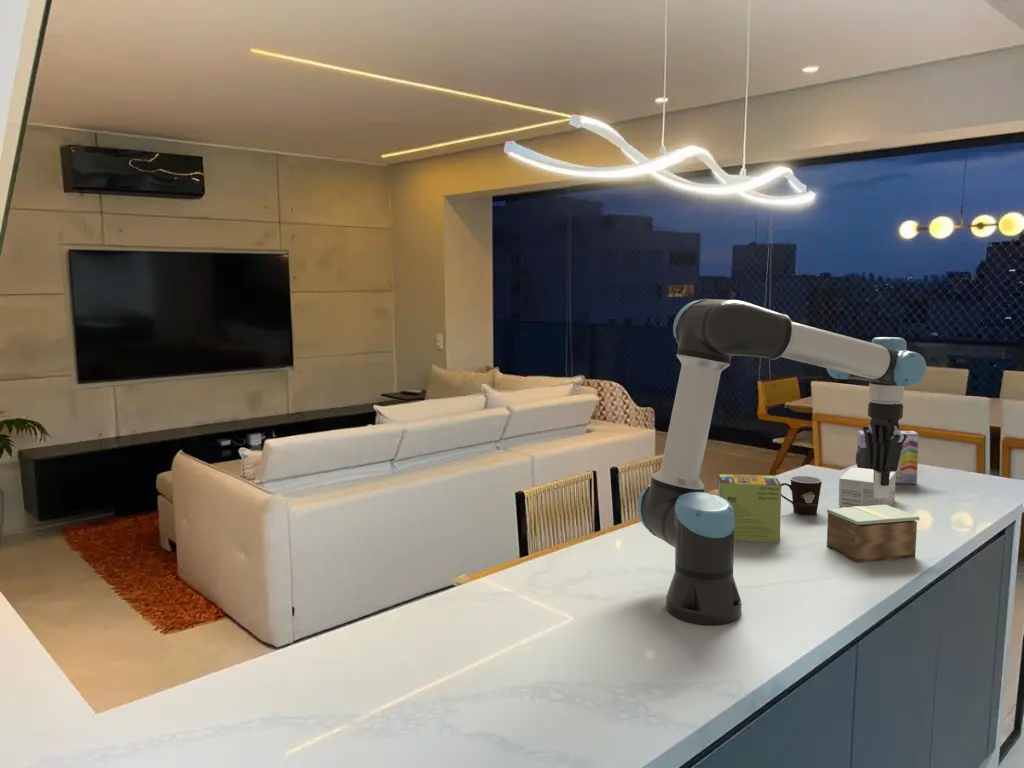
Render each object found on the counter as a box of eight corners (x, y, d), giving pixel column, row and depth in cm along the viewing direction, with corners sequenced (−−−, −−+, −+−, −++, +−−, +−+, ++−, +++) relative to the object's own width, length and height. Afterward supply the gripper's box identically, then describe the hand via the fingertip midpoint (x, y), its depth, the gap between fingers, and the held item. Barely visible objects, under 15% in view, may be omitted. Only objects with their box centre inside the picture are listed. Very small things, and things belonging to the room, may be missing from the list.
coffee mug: (823, 510, 222) (824, 478, 220) (817, 518, 214) (818, 484, 213) (782, 505, 228) (783, 473, 227) (776, 512, 221) (776, 479, 219)
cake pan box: (856, 483, 252) (858, 432, 250) (852, 480, 257) (854, 429, 255) (917, 485, 249) (920, 433, 246) (912, 481, 254) (914, 430, 251)
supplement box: (849, 495, 239) (850, 466, 238) (895, 501, 231) (896, 471, 230) (837, 507, 225) (838, 477, 224) (885, 514, 218) (886, 483, 216)
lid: (857, 524, 178) (857, 521, 178) (826, 511, 190) (826, 508, 190) (919, 520, 181) (919, 516, 181) (885, 507, 193) (885, 504, 193)
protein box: (780, 542, 195) (782, 484, 193) (719, 540, 198) (720, 482, 196) (775, 530, 205) (776, 475, 203) (717, 527, 208) (717, 473, 206)
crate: (856, 562, 179) (857, 526, 178) (826, 546, 191) (827, 512, 190) (915, 557, 182) (917, 521, 181) (882, 541, 194) (884, 508, 193)
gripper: (919, 405, 173) (912, 504, 176) (881, 397, 186) (876, 490, 188) (890, 405, 172) (884, 505, 174) (854, 398, 184) (849, 491, 187)
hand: (880, 497), depth 181 cm, fingers closed
